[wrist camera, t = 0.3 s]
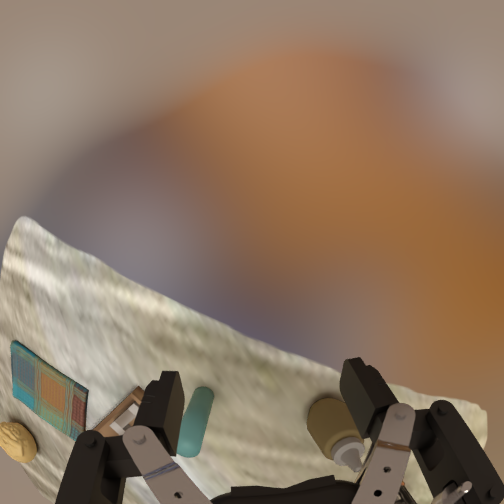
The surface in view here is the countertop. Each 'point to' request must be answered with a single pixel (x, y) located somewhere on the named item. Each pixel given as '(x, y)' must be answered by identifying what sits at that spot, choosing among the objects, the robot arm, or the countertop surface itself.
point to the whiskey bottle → (404, 496)
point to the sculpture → (17, 442)
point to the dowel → (195, 422)
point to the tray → (117, 411)
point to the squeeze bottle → (336, 433)
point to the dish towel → (48, 392)
